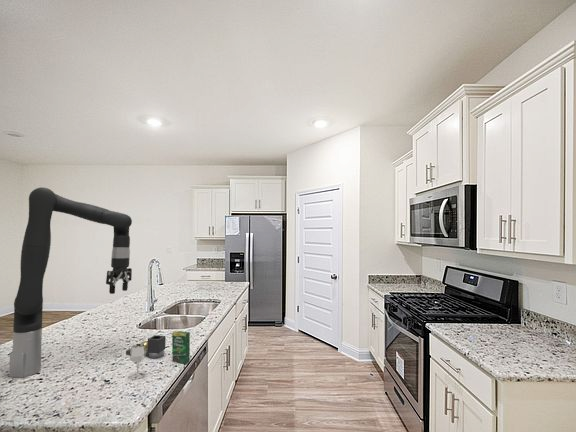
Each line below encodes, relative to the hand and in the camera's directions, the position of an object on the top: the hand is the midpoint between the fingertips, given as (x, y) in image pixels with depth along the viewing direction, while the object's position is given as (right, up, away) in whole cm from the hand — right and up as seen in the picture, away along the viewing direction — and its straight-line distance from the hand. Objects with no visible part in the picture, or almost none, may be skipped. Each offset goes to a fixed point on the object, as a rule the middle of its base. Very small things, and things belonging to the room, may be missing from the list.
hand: (118, 292), depth 153 cm
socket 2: (+18, -27, -1) cm, 32 cm away
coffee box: (+31, -29, -8) cm, 43 cm away
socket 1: (+10, -29, +5) cm, 31 cm away
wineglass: (+19, -29, -22) cm, 41 cm away
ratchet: (+12, -29, 0) cm, 32 cm away
